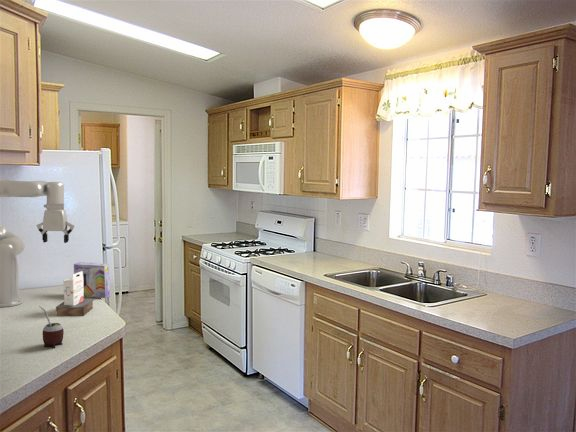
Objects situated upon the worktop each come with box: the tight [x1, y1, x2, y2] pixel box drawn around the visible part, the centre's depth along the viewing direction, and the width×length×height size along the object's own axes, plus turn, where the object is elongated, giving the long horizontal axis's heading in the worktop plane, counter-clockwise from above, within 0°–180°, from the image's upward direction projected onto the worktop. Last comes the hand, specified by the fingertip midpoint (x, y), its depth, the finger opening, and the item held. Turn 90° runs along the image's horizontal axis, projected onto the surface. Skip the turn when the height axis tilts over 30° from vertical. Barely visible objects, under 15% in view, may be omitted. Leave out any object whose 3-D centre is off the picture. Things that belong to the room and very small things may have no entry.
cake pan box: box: [73, 261, 111, 299], centre depth 245 cm, size 19×5×18 cm, turn 77°
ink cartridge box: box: [63, 271, 85, 306], centre depth 218 cm, size 9×5×15 cm, turn 173°
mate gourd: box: [38, 305, 65, 349], centre depth 176 cm, size 8×8×15 cm
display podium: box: [55, 299, 94, 317], centre depth 219 cm, size 12×12×4 cm
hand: (55, 242), depth 229 cm, fingers open, 9 cm apart
